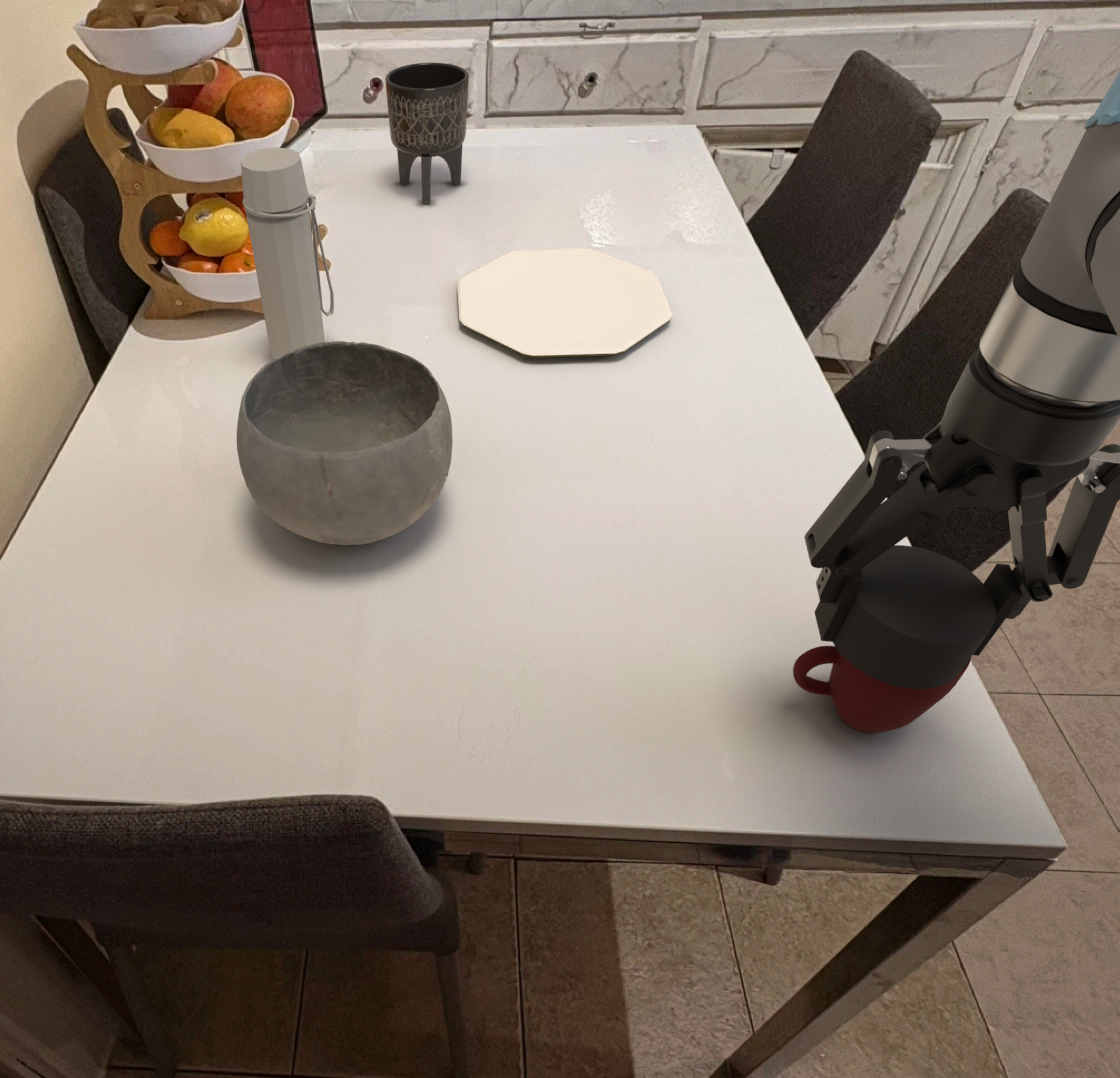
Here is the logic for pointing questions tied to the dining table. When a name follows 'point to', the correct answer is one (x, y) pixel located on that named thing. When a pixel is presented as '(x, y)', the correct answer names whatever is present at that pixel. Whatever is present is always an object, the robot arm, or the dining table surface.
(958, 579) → the puck
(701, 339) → the dining table surface
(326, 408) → the bowl
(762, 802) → the dining table surface
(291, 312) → the water bottle
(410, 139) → the planter
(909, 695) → the mug
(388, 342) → the dining table surface
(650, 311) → the plate
